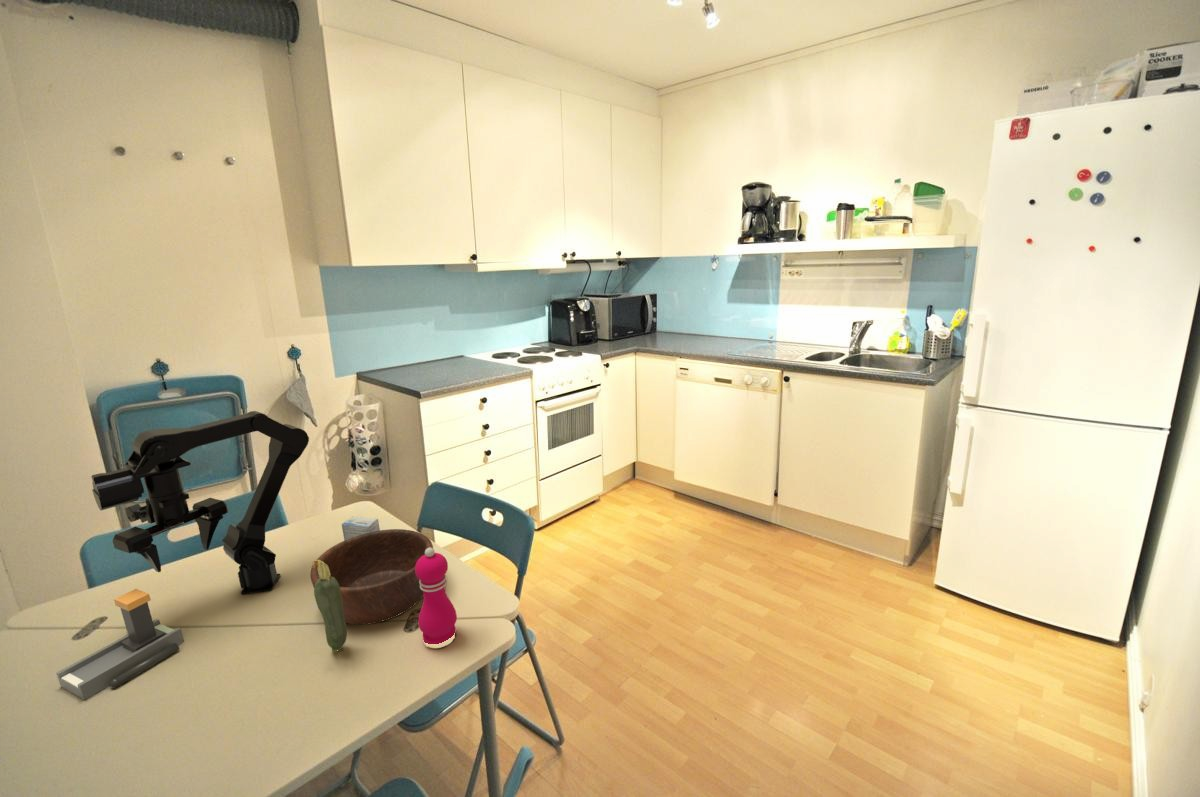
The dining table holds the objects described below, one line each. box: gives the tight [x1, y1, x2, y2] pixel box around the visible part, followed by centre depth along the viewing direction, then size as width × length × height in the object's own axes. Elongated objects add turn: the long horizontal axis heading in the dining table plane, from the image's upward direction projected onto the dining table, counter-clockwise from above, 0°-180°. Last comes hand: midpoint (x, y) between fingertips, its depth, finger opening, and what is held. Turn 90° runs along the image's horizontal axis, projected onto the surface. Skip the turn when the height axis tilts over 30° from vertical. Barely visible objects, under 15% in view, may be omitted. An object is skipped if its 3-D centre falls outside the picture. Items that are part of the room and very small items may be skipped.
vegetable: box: [312, 559, 348, 652], centre depth 102 cm, size 4×4×20 cm
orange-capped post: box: [113, 588, 166, 652], centre depth 104 cm, size 5×5×10 cm
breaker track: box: [56, 618, 185, 701], centre depth 103 cm, size 16×13×3 cm
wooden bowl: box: [310, 528, 434, 625], centre depth 120 cm, size 25×25×10 cm
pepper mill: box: [415, 547, 458, 644], centre depth 105 cm, size 7×7×20 cm
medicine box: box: [341, 515, 381, 541], centre depth 140 cm, size 8×4×9 cm, turn 77°
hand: (183, 560), depth 114 cm, fingers open, 9 cm apart
